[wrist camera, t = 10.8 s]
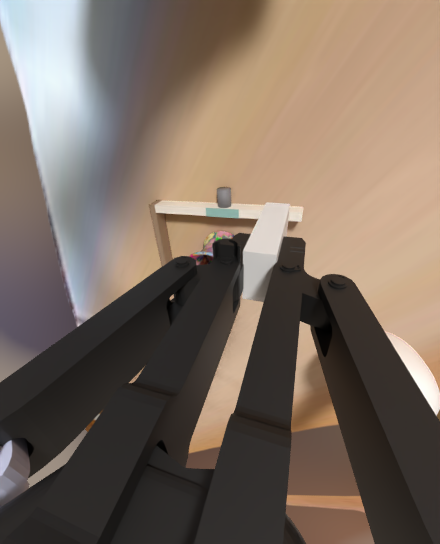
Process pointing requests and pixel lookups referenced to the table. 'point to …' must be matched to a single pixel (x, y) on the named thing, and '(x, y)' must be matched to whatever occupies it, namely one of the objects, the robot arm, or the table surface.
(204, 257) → the mug
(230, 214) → the teal-striped rail frame
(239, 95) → the table surface
